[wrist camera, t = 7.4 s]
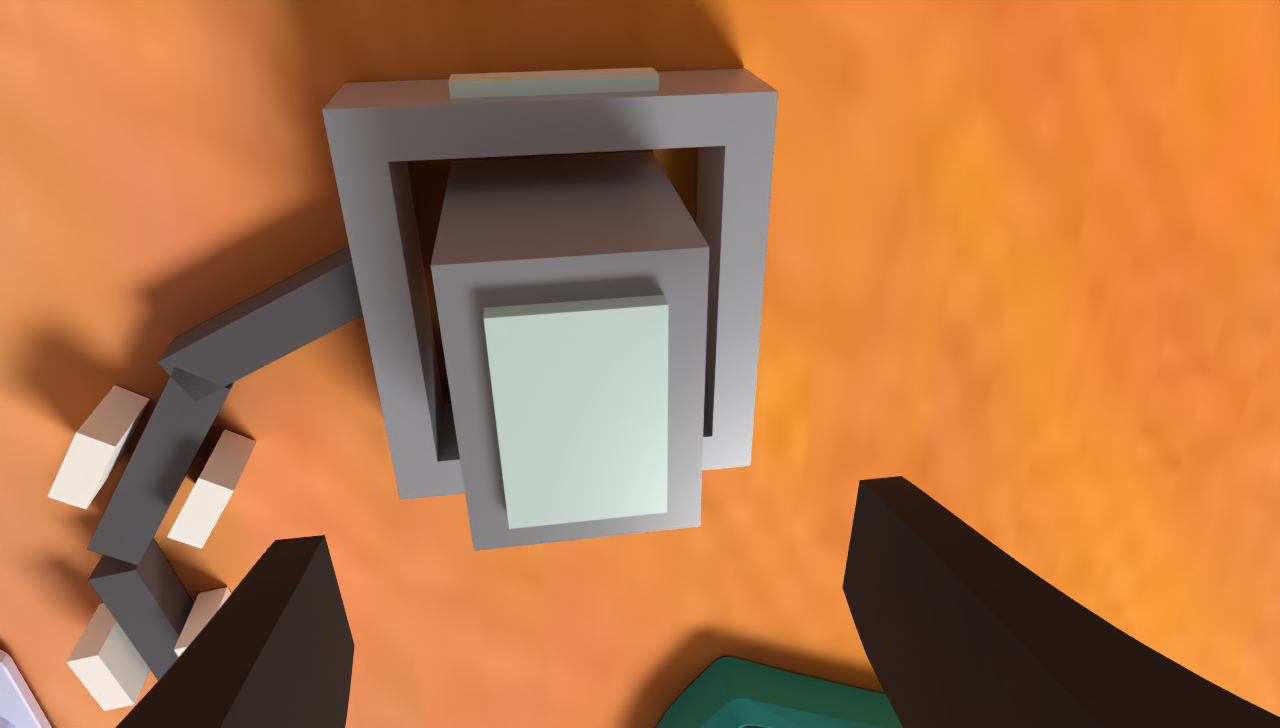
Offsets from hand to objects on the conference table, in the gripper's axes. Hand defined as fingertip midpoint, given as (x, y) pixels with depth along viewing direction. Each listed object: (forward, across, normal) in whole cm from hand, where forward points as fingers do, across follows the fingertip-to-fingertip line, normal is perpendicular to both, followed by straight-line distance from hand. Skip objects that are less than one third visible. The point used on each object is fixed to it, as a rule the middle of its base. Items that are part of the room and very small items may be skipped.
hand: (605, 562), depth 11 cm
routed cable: (+10, +9, +6) cm, 14 cm away
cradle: (+10, 0, 0) cm, 10 cm away
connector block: (+10, 0, 0) cm, 10 cm away
